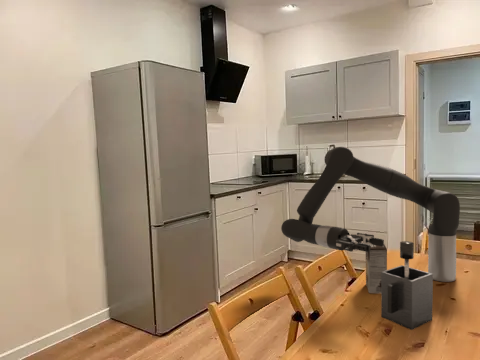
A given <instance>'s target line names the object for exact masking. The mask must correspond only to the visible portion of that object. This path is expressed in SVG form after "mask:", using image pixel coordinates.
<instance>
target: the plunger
mask: <svg viewBox="0 0 480 360" xmlns="http://www.w3.org/2000/svg"><path fill="white" fill-rule="evenodd" d="M414 245H415V243H414V242H412V241H407V240H404V241H400V242H399V258H400V259H403V260H404V265H403V266H404V278H405V279H408V280H409V267H410V260H414V253H415V252H414V250H415V249H414Z"/></svg>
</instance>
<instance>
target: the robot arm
mask: <svg viewBox="0 0 480 360" xmlns="http://www.w3.org/2000/svg"><path fill="white" fill-rule="evenodd" d="M324 164H325V167H324V169H323V171H322V173H321V174H320V176H319V178H317V180H316V181H315V183H313V185H312V186H311V188H310V189H309V190H308V191H307V192H306V194H305V195H304V197H303V198H302V200H301V201H300V203H299V205H298V207H297V209H296V212H297V214H298V219H297V218H288V219H285V220H284V221H282V225H281V227H280V229H281V233H282V235H283V236H285V237H286V238H288V239H290V240H292V241H293V242H296V243H300V242H304V241H305V242H307V243H309V244H311V245H318V246H321V247H323V248H327V249H332V250H336V251H337V250H338V251H341V252H342V251H347V252H353V251H355V252H356V251H360V252H361V251H362V252H365V253H366V252H369V251H370V245H369V244H371V245H377V246H383V245H385V240H384V238H378V237H375V235H374V234H369V233H361V232H357V233H351V234H350V231H348V229H347V228H345V227H338V226H331V225H321V224H317V223H316V224H315V223H313V221H314V218H315V217H316V215H317V213H318V212H319V210H320V208H321V207H322V206H323V205H324V202H325V200H326V199H327V197H328V196H329V194H330V192H331V191H332V190H333V188H334V187H335V185H336V184H337V183H338V182H339V181H340V179H341V178H342V177H343V175H346V176H348V177H351V178H355V179H356V180H358V181H360V182H362V183H364V184H366V185H368V186H369V187H372V188H374V189H376V190H378V191H380V192H382V193H385V194H387V195H390V196H393V197H396V198H398V199H403V200H406V201H408V202H409V201H410V202H412V203H414V204H417V205H418V206H420V207H422V208H423V209H425V210H427V211H429V212H431V213H432V214H433V217H432V218H433V219H432V223H431V224H429V225H428V236H427V237H428V240H427V242H428V244H427V245H428V250H427V252H428V253H427V255H428V256H427V258H428V259H427V261H428V262H427V272H428V273H432V274H433V281H438V282H443V283H445V282H446V283H450V282H454V281H456V278H457V230H458V228H459V227H460V226H459V224H460V213H461V209H460V208H461V204H460V200H459V198H458V196H457V195H456V194H454V193H452V192H449V191H444V190H440V189H435V188H433V187H430V186H426V185H424V184H420V183H418V182H417V181H415V180H414V179H413V178H412V177H410V176H408V175H406V174H404V173H403V172H400V171H398V170H396V169H393V168H391V167H388V166H385V165H381V164H377V163H374V162H368V161H365V160H363V159H362V160H361V159H359V157H358V158H357V157H356V156H354V154H353V152H352V150H351V149H350V148H348V147H346V146H336V147H334V148H331V149H329V150H328V151H327V152H326V153H325V156H324Z"/></svg>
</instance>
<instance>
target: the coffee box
mask: <svg viewBox="0 0 480 360" xmlns="http://www.w3.org/2000/svg"><path fill="white" fill-rule="evenodd" d="M369 245H370V251H369V252H365V284H366V288H367V291H368V293H369V294H381V272H383V271H386V270H388V248H387V247H386V244H384V245H383V246H377V245H371V244H369Z"/></svg>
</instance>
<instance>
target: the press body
mask: <svg viewBox="0 0 480 360" xmlns="http://www.w3.org/2000/svg"><path fill="white" fill-rule="evenodd" d="M433 281H434V280H433V274H432V273H428V271H424V270H420V269H417V268H413V267H410V266H409V280H408V279H405V278H404V265H401V264H400V265H399V266H398V265H397V266H395V267H392V268H389V269H387V270H386V271H383V272H381V295H380V296H381V300H380V301H381V303H380V304H381V306H380V308H381V310H380V311H381V312H380V313H381V314H380V315H381V318H382V319H385V320H388V321H389V322H392V323H395V324H397V325H398V326H401V327H404V328H406V329H409V330H411V331H413V330H415V329H417V328H420V327H421V326H423V325H425V324H428V323H430V322H432V321H433V300H434V299H433V292H434V291H433V290H434V288H433V287H434V286H433V285H434V282H433Z"/></svg>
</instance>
